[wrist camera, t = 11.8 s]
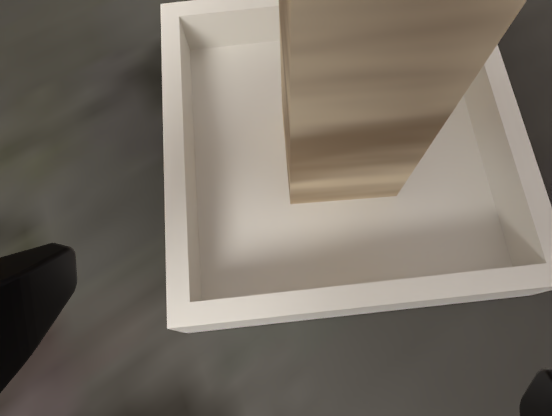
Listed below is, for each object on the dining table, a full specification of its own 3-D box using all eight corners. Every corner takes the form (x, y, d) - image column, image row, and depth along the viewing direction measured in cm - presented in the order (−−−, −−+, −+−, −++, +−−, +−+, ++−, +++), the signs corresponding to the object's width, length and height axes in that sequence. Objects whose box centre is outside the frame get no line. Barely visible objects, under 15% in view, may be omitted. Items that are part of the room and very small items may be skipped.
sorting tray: (530, 295, 17) (577, 283, 15) (187, 332, 17) (167, 328, 15) (449, 20, 22) (473, -30, 19) (177, 49, 22) (160, 4, 19)
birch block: (397, 196, 18) (624, -136, 6) (289, 205, 18) (287, -108, 6) (381, 103, 20) (533, -319, 7) (281, 110, 20) (266, -297, 7)
